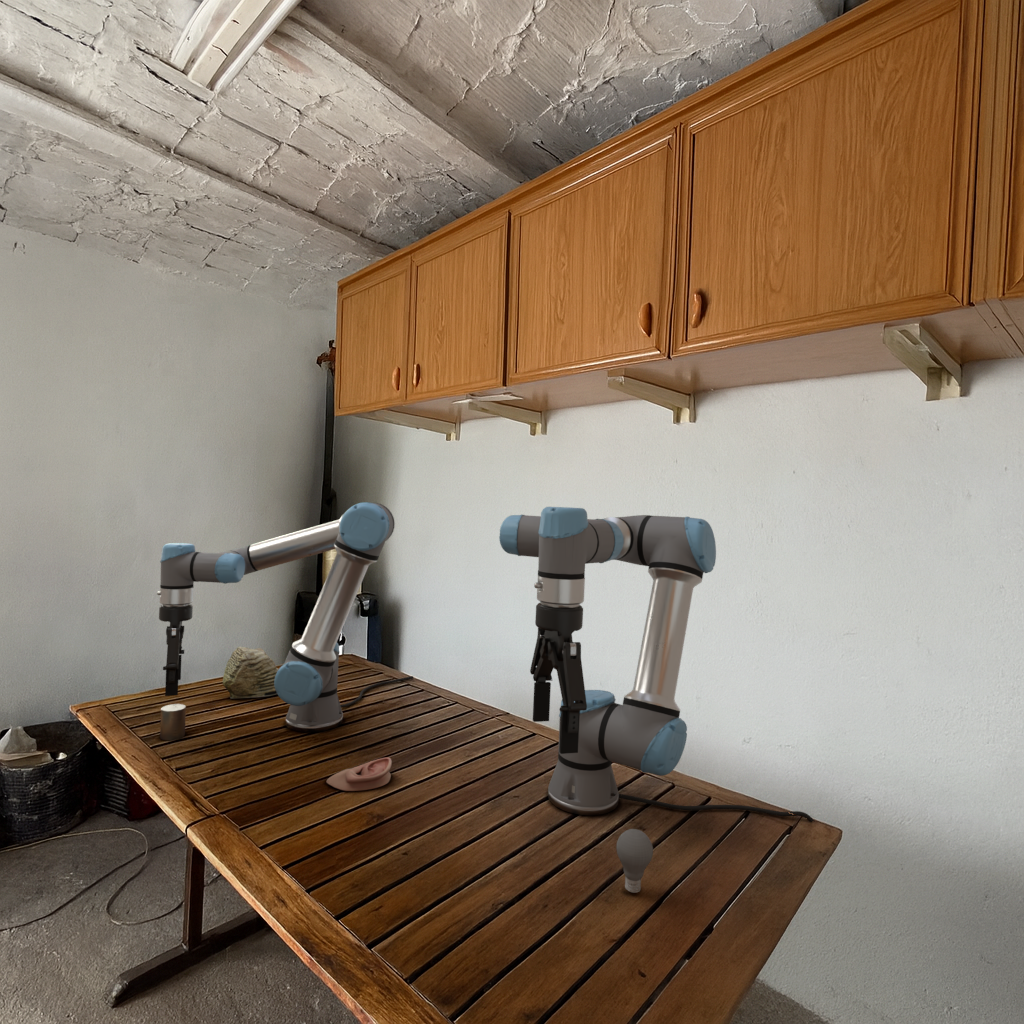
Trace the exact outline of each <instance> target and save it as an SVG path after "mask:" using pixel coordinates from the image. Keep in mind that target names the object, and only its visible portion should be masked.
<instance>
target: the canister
mask: <svg viewBox="0 0 1024 1024" xmlns="http://www.w3.org/2000/svg"><path fill="white" fill-rule="evenodd" d="M186 717H187V706H186V705H185V704H183V703H172V704H171V703H170V704H167V705H164V706H162V707H161V708H160V722H159V723H160V725H159V726H160V729H159V739H160V740H163V741H175V740H179V739H182V738H184V737H185V735H186V719H187V718H186Z"/></svg>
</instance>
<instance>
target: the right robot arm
mask: <svg viewBox="0 0 1024 1024" xmlns="http://www.w3.org/2000/svg"><path fill="white" fill-rule="evenodd" d="M715 538H716V537H715V534H714V530H713V528H712V526H711V524H710V523H709V522H708V521H707V520H705V519H703V518H697V517H690V516H668V515H667V516H666V515H650V514H637V515H627V516H617V517H615V516H608V517H605V518H604V517H603V518H595V519H594V518H593V519H591V518H588V513H587V510H586V509H585V508H584V507H568V506H546V507H544V508H542V510H541V512H540V515H526V514H512V515H511V514H510V515H508V516H507V517H506V518H504V520H503V521H502V523H501V525H500V528H499V536H498V540H499V544H500V547H501V548H502V550H503V551H504V552H505V553H507V554H509V555H515V556H518V557H529V558H531V557H532V558H538V563H537V564H538V566H537V567H538V568H537V582H535V583H534V588H535V589H536V599H537V601H539V602H538V603H537V604H536V605H535V621H534V622H535V626H536V627H537V637H536V642H535V648H534V652H533V655H532V661H531V664H530V669H529V672H530V675H532V679H533V683H534V684H533V704H532V722H534V723H539V722H540V723H542V722H550V712H551V711H550V709H551V687H552V686H551V685H552V683H551V682H550V681H553V677H552V673H553V670H556V674H557V678H558V684H559V690H560V694H561V700H560V707H559V714H558V717H559V720H558V721H559V722H558V723H559V724H558V752H557V753H558V755H557V762H556V764H555V768H554V770H553V773H552V776H551V778H550V781H549V782H548V783H549V784H548V788H547V798H548V800H549V802H550V803H551V804H552V805H553V806H555V807H556V808H558V809H560V810H562V811H564V812H567V813H570V814H574V815H581V816H599V815H604V814H608V813H610V812H613V810H616V809H617V807H618V806H619V799H622V800H627V801H631V802H637V803H642V804H647V805H651V806H657V807H661V808H666V809H672V810H679V811H688V812H691V811H693V812H694V811H709V810H711V811H712V810H736V811H737V810H739V811H750V812H755V813H761V814H765V815H771V816H775V817H776V816H777V817H802V818H804V819H806V818H807V819H806V820H807V821H808V822H811V823H813V822H812V821H814V822H815V820H814V818H812V816H811V815H809V814H808V813H806V812H803V811H799V810H795V811H794V810H793V811H778V810H773V809H768V808H764V807H763V808H762V807H756V806H751V805H750V806H749V805H741V804H740V805H739V804H704V805H703V804H702V805H681V804H673V803H668V802H665V801H664V802H663V801H658V800H654V799H648V798H645V797H644V798H643V797H638V796H634V795H628V794H622V793H620V792H619V789H618V786H617V781H616V778H615V774H614V770H613V765H612V763H615V764H619V765H621V766H625V767H628V768H631V769H635V770H638V771H641V772H642V773H644V774H652V775H655V776H659V777H660V776H661V777H663V776H667V775H669V774H671V772H673V771H674V770H675V768H676V767H677V766H678V764H679V762H680V760H681V759H682V756H683V753H684V751H685V746H686V743H687V738H688V732H687V731H688V727H687V723H686V721H685V720H683V719H682V718H681V717H680V715H681V708H680V706H679V705H678V704H677V702H676V700H675V697H676V692H677V688H678V687H677V686H678V680H679V675H680V668H681V663H682V658H683V651H684V646H685V641H686V640H685V639H686V634H687V628H688V621H689V615H690V609H691V604H692V599H693V593H694V588H696V587H697V586H698V585H700V584H701V583H702V582H703V577H704V574H708V573H711V572H712V571H713V570H714V567H715V565H716V559H717V546H716V544H717V543H716V539H715ZM610 561H620V562H625V563H629V564H632V565H637V566H645V567H648V569H647V573H648V574H649V575H650V577H651V579H652V585H651V590H650V597H649V602H648V607H647V612H646V618H645V624H644V628H643V634H642V640H641V645H640V650H639V656H638V659H637V666H636V672H635V676H634V682H633V688H632V689H631V690H630V691H629V692H628V693H626V694H625V695H624V696H623V699H622V704H620V703H616V700H617V699H616V696H615V694H614V693H612V692H611V691H608V690H603V689H602V690H601V689H586V686H585V681H584V672H583V663H582V643H581V642H580V641H573V633H574V632H578V631H580V630H581V629H583V623H584V607H583V606H582V605H581V604H583V603H584V601H585V589H586V577H585V575H586V574H585V572H586V570H585V569H586V565H587V564H604V563H608V562H610ZM788 812H790V813H793V814H796V815H792V814H789V813H788Z"/></svg>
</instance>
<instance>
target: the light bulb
mask: <svg viewBox="0 0 1024 1024" xmlns="http://www.w3.org/2000/svg"><path fill="white" fill-rule="evenodd" d="M615 849H616V854H617V857H618V859H619V861H620V863H621V865H622V867H623V873H624V874H623V875H624V876H625V878H624V888H625V890H627V891H628V892H630V893H634V894H635V893H639V892H640V891H641V889H642V887H641V886H642V879H643V877H644V875H645V871H646V868H647V867H648V866H649V864H650V863H651V861H652V859H653V855H654V847H653V843H652V841H651V838H649V836H648V835H647V834H646V833H645V832H643V831H642V830H641V829H636V828H629V829H627V830H625V831H623V832H622V833H621V834H620V835H619V837H618V839H617V841H616V847H615Z"/></svg>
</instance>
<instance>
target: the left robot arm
mask: <svg viewBox="0 0 1024 1024" xmlns="http://www.w3.org/2000/svg"><path fill="white" fill-rule="evenodd" d="M395 524H396V523H395V517H394V515H393V513H392V512H391V511H390V509H389V508H388V507H387V506H386V505H384V504H381V503H378V502H367V501H365V502H359V503H358V502H357V503H356V504H354V505H352V506H350V507H349V508H348V509H347V510H346V511H345V512H344V513H343V514H341V516H340V518H339V519H336V520H333V521H328V522H324V523H322V524H319V525H314V526H311V527H308V528H304V529H300V530H297V531H294V532H293V531H292V532H290V533H287V534H283V535H280V536H276V537H272V538H269V539H266V540H262V541H258V542H256V543H252V544H248V545H244V546H240V547H237V548H236V547H235V548H233V549H229V550H225V551H219V552H201V551H196V546H195V544H194V543H188V542H187V543H186V542H171V543H165V544H164V545H163V546H162V548H161V556H160V561H159V562H160V584H159V587H160V588H159V590H158V591H156V595H157V596H159V603H160V604H161V605H159V607H158V620H159V621H160V622H164V623H165V622H167V623H169V625H167V626H166V629H165V635H166V643H165V644H166V645H167V647H166V665H164V666H163V667H162V670H163V671H165V685H164V687H165V689H164V690H165V691H164V695H165V697H174V696H178V695H179V681H181V678H182V655H184V654H185V649H183V645H182V644H183V639H184V634H185V625H183V622H187V621H190V620H191V619H192V618H193V611H194V608H193V607H194V605H193V604H192V603H194V591H195V588H194V582H195V583H199V582H201V583H217V584H218V583H219V584H220V583H221V584H237V583H240V581H242V579H243V577H244V576H246V575H249V574H252V573H256V572H258V571H261V570H265V569H269V568H272V567H276V566H280V565H283V564H287V563H291V562H294V561H299V560H301V559H305V558H308V557H312V556H315V555H319V554H323V553H327V552H329V551H333V550H335V551H336V555H335V557H334V559H333V561H332V564H331V567H330V569H329V571H328V574H327V576H326V579H325V581H324V583H323V586H322V588H321V591H320V592H319V595H318V597H317V600H316V602H315V605H314V607H313V610H312V611H311V613H310V617H309V619H308V622H307V624H306V626H305V628H304V631H303V633H302V636H301V638H300V639H298V640H295V641H293V642H292V644H291V646H290V649H289V651H288V653H287V656H286V658H285V660H284V663H283V664H282V665H280V667H279V668H278V669H279V670H278V671H277V673H276V676H275V680H274V686H275V690H276V692H277V694H276V695H277V696H278V698H280V699H281V700H282V701H283V702H284V703H286V704H288V705H289V708H288V711H287V713H286V715H285V726H286V728H287V729H289V730H291V731H294V732H295V731H296V732H301V733H316V732H325V731H329V730H332V729H335V728H337V727H339V726H340V725H342V723H343V722H344V713H343V709H344V708H346V707H349V706H353V705H354V704H356V703H357V702H359V701H360V700H362V698H363V696H364V695H363V694H364V693H366V692H367V691H368V690H370V689H372V688H375V687H379V686H383V685H388V684H389V685H390V684H393V683H398V682H403V681H408V680H413V679H414V676H413V675H411V676H406V677H401V678H396V679H391V680H386V681H381V682H377V683H374V684H371V685H368V686H366V687H364V689H362V690H361V691H360V693H359V696H358V697H356V698H355V699H353V700H352V701H350V702H347V703H344V704H343V703H342V704H341V702H340V699H339V695H338V682H339V681H338V680H339V678H338V677H339V660H340V659H339V657H340V645H339V643H338V640H339V638H340V635H341V633H342V630H343V627H344V625H345V623H346V621H347V619H348V616H349V613H350V612H351V608H352V606H353V604H354V602H355V599H356V597H357V595H358V592H359V589H360V588H361V585H362V583H363V580H364V578H365V577H366V576H365V575H366V573H367V572H368V568H369V566H371V565H372V564H375V563H377V562H378V560H379V558H380V556H381V553H382V550H383V548H384V546H385V543H386V542H387V541H388V540H390V538H391V536H392V535H393V533H394V531H395V526H396V525H395ZM342 708H343V709H342Z"/></svg>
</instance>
